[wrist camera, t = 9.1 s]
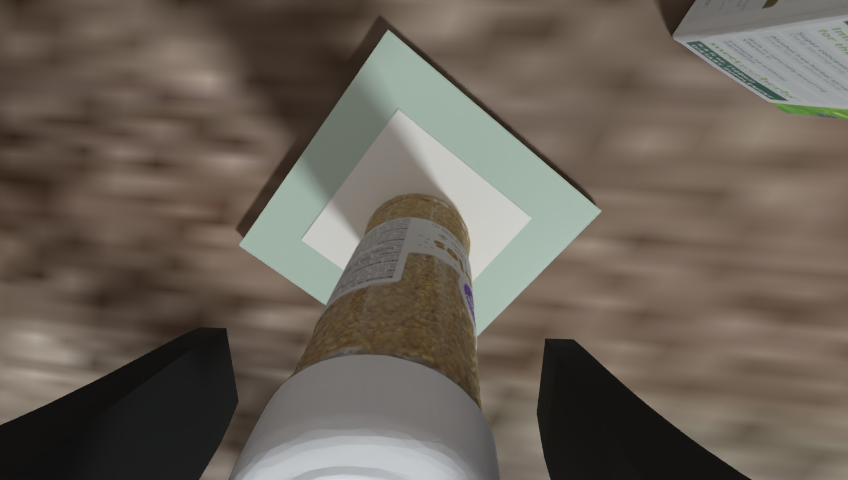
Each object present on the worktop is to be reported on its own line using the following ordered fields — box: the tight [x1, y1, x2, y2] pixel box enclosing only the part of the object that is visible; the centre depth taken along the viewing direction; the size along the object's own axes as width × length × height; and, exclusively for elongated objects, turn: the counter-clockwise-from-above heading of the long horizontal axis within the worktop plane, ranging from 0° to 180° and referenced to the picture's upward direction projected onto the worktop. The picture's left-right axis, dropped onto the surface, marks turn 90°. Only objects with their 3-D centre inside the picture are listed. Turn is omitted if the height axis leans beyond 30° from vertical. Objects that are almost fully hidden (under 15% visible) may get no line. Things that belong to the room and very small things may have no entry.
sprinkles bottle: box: [229, 193, 500, 480], centre depth 13 cm, size 5×5×13 cm
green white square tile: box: [239, 30, 601, 336], centre depth 20 cm, size 11×11×1 cm
